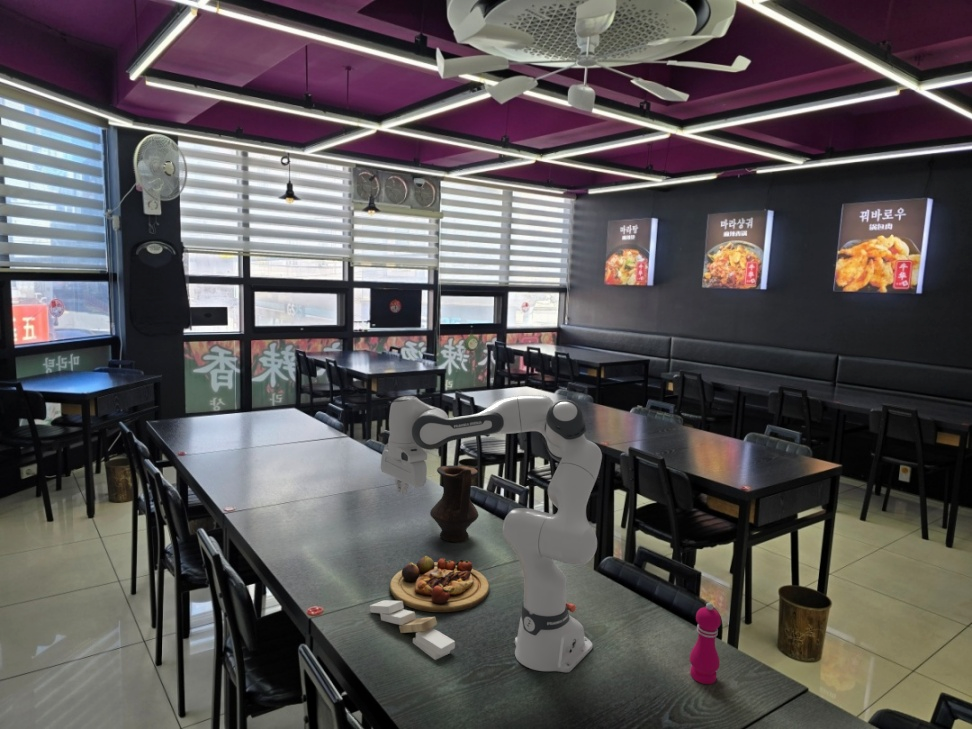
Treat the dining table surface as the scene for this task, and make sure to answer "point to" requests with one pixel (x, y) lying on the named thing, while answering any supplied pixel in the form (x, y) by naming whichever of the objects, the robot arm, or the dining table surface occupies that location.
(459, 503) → the jug
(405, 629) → the domino
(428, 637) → the domino
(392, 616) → the domino
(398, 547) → the dining table surface
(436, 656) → the domino
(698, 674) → the pepper mill
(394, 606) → the domino
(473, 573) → the wooden plate with food
